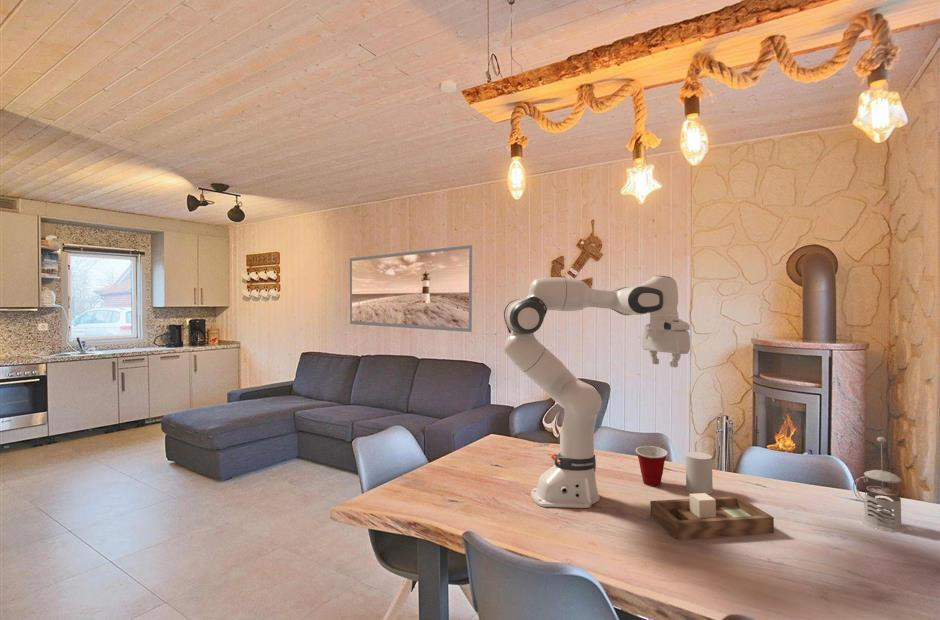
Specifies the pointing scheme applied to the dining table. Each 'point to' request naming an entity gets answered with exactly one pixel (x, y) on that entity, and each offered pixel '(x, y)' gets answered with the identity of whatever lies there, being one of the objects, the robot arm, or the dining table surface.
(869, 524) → the french press
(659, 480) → the plastic cup
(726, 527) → the box
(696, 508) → the block
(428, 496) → the dining table surface
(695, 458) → the beige cylinder
